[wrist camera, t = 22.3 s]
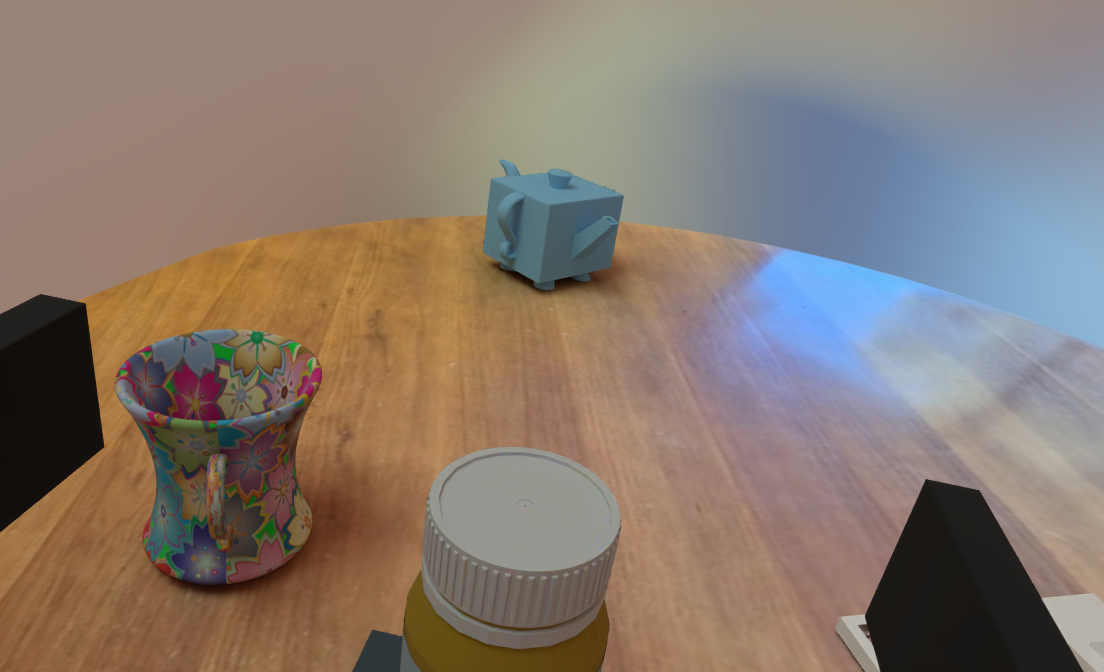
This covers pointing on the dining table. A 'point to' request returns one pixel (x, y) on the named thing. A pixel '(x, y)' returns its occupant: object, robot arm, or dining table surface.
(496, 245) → the teapot
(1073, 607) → the photo frame
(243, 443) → the mug
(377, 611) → the dining table surface
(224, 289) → the dining table surface
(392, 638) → the mat
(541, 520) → the bottle
